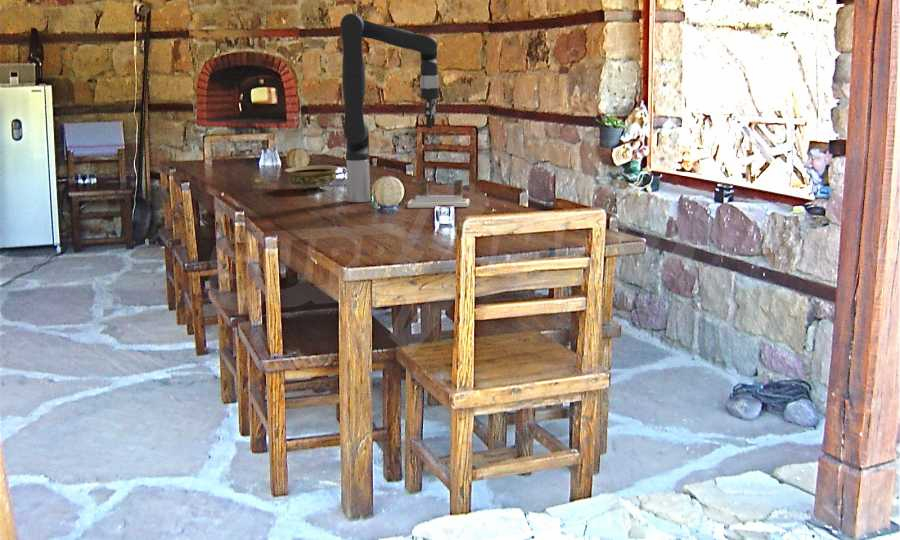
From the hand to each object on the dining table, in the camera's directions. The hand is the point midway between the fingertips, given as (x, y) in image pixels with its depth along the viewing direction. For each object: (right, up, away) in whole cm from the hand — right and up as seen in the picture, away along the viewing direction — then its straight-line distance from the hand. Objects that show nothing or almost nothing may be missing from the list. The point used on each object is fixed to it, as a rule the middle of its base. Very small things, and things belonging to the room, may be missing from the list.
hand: (430, 127), depth 398 cm
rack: (+4, -31, -4) cm, 32 cm away
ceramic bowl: (-54, -23, +42) cm, 72 cm away
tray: (+4, -33, -13) cm, 36 cm away
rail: (+4, -33, -13) cm, 35 cm away
